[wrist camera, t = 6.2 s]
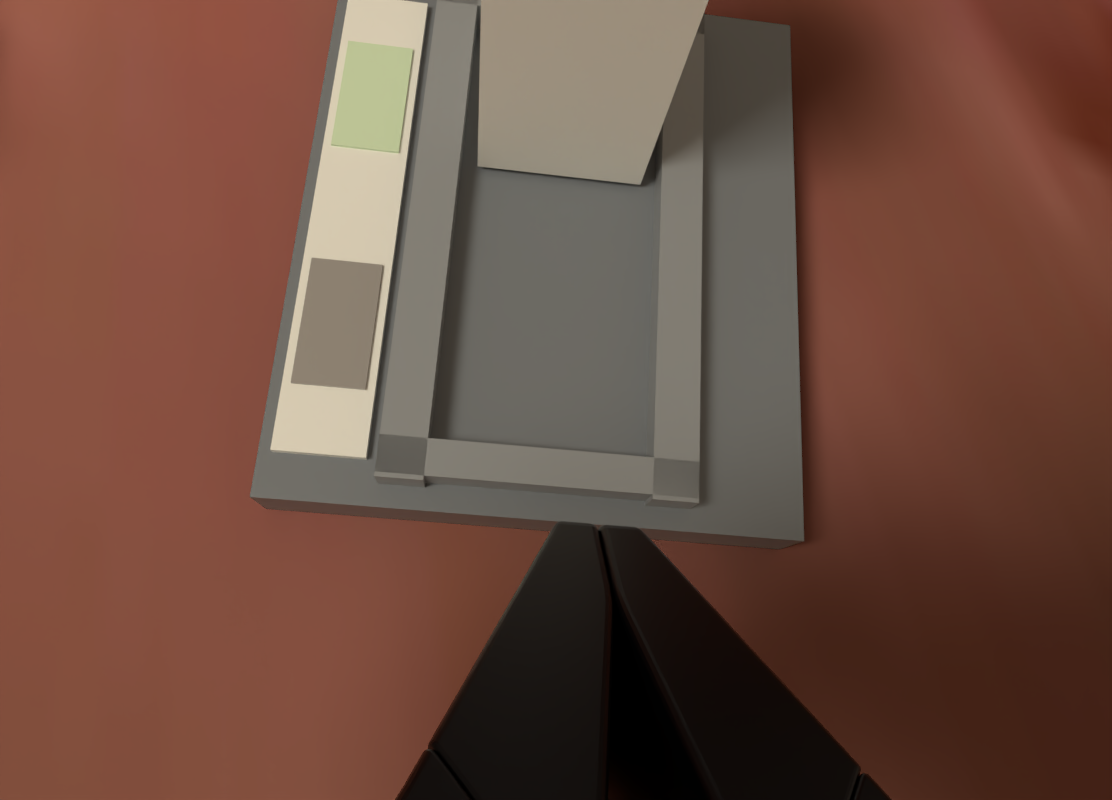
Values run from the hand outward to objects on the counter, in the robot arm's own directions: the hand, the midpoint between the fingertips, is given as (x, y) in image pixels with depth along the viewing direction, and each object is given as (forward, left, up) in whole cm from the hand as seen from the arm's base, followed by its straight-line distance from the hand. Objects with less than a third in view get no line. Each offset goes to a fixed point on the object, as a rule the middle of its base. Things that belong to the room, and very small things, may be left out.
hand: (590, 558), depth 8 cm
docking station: (+7, +6, -11) cm, 14 cm away
